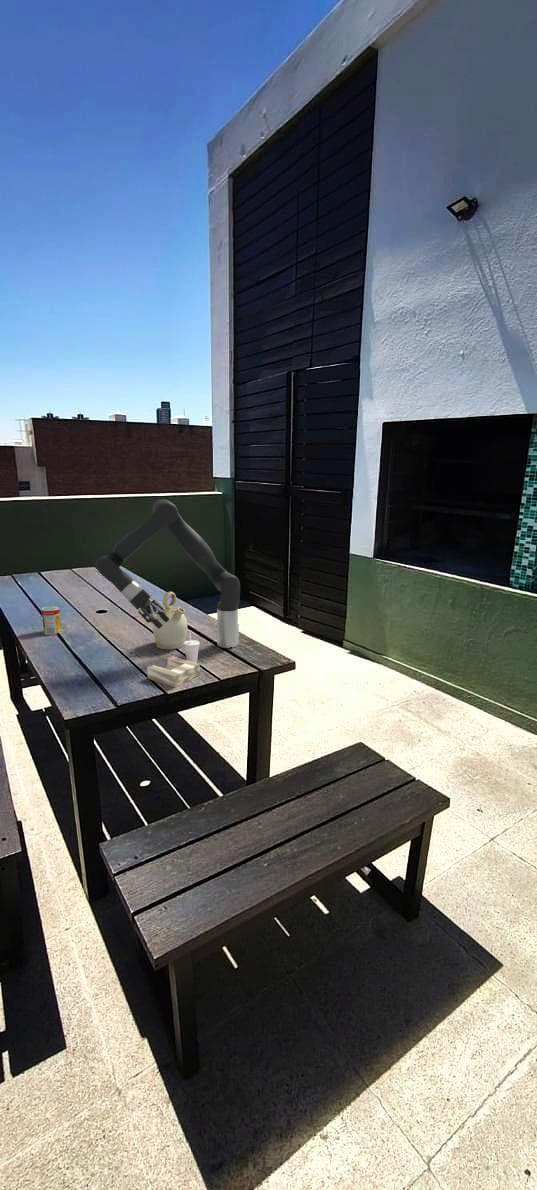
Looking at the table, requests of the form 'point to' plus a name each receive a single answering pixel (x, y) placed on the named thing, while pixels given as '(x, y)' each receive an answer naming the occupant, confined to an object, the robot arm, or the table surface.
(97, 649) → the table surface
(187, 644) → the white cup with straw
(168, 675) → the notched board
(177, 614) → the jug
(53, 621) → the canned food
